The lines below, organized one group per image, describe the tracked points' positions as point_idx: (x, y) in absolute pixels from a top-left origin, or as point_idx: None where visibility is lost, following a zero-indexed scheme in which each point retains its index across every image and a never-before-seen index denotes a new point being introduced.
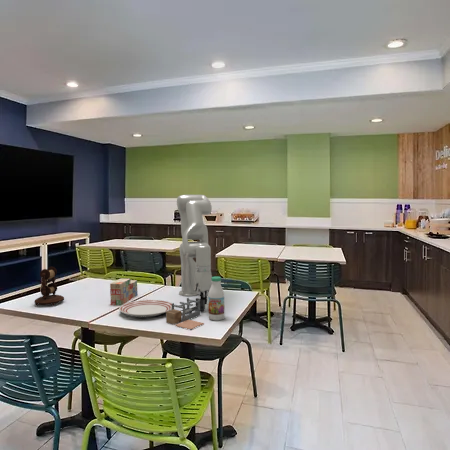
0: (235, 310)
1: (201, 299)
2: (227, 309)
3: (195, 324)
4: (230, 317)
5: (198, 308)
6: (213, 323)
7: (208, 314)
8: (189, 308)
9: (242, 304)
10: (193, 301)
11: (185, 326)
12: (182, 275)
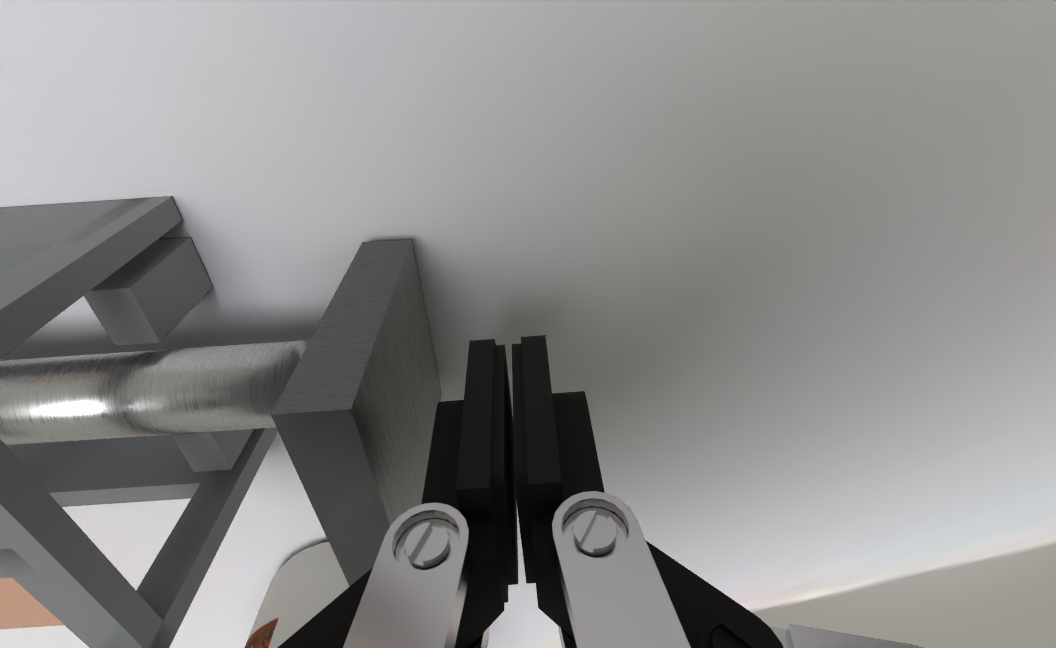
0: (728, 574)
1: (359, 547)
2: (723, 512)
3: (6, 602)
4: (492, 636)
5: (188, 524)
6: (239, 633)
7: (266, 604)
8: (11, 422)
9: (1011, 519)
10: (24, 568)
11: None
12: None
